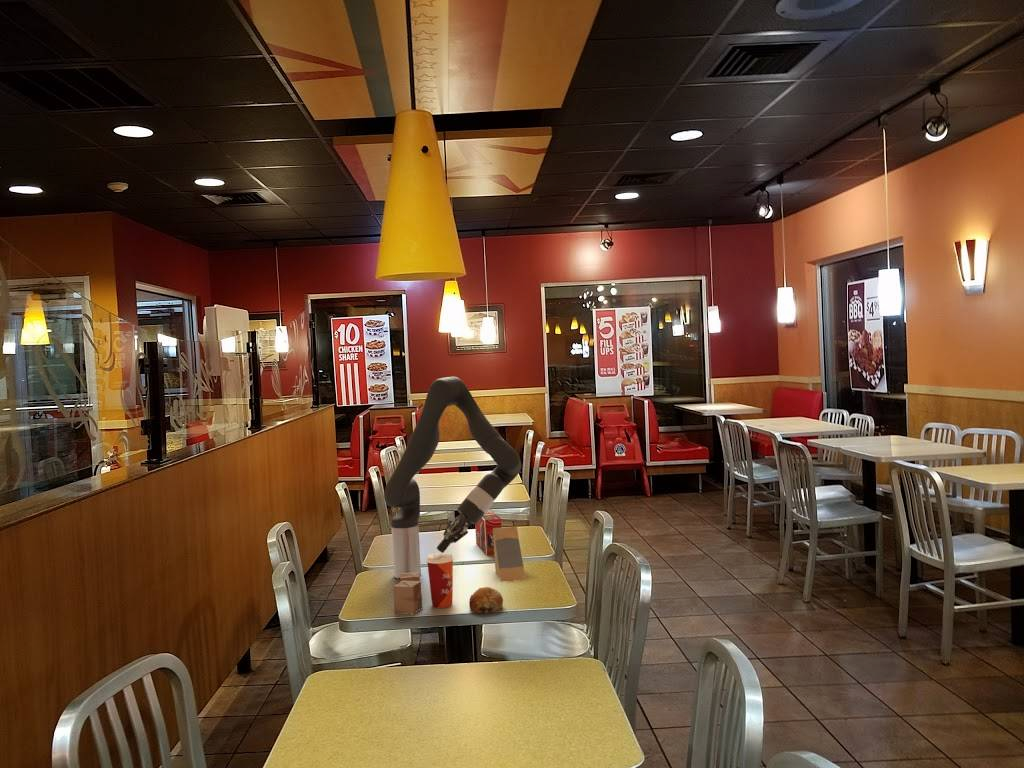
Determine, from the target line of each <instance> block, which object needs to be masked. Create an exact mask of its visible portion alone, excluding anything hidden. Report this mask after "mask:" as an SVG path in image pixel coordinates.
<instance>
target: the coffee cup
mask: <svg viewBox="0 0 1024 768" xmlns="http://www.w3.org/2000/svg"><path fill="white" fill-rule="evenodd" d="M454 560H455V559H454V557H453V554H452V553H450V552H443V553H442V552H435V553H430V554H428V555H427V558H426V563H427V570H428V580H429V589H430V597H431V605H432V608H435V609H445V608H446V607H447V608H450V607H452V606H453V599H454V597H453V592H454V590H453V586H454V585H453V584H454V581H453V580H454V579H453V577H454V575H453V574H454V572H453V571H454V569H453V568H454V567H453V565H454V564H453V563H454ZM451 605H452V606H451Z"/></svg>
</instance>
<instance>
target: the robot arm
mask: <svg viewBox="0 0 1024 768" xmlns="http://www.w3.org/2000/svg"><path fill="white" fill-rule="evenodd" d="M451 406H456V407H457V409H459V410H460V411H461V412H462V413H463V415H464V416H465V419H466V421H467V425H468V428H469V432H470V434H471V436H472V438H473V439H474V441H475V442H476V443H477V444H478V445H479V447H480V448H481V449H482V450H483V451H484V452H485V453H486V454H487V455H489V456H490V457H491V458H492V460H493V461H494V462H495V463H496V464H495V465H496V467H495V468H494V469H493V470H492V471H491V472H490V473H486V474H485V475H484V476H483V477H482V478H481V480H480V481H479V482H478V483H477V485H476V486H475V487H474V488H473V489H472V490H471V491H469V493H468V494H467V496H465V498H464V499H463V501H462V502H461V503H460V504H459V506H458V507H457V512H458V513H459V515H457V516H456V517H455V518H454V519H453V520H449V521H448V523H447V525H446V528H445V530H444V532H443V534H442V535H443V539H442V540H441V541H440V542H439V544H438V545H437V546H436V550H437V551H439V553H445V551H446V550H447V549H448V547H449V546H450V545H451V544H453V543H454V544H455V543H457V542H458V541H460V540H461V539H462V538H464V537H465V536H466V535H467V534H468V533H469V531H468V529H469V527H470V526H471V524H473V525H475V524H477V523H478V522H479V521H480V519H481V518H482V517H483V515H484V514H485V513H486V512H487V510H490V508H491V507H492V505H493V503H494V502H495V501H496V499H497V498H498V497H499V495H500V494H501V492H502V491H503V490H504V489H505V488H506V487H508V485H509V484H510V483H512V482H513V480H514V479H516V477H518V475H519V474H520V472H521V469H522V462H521V461H522V460H521V457H520V455H519V454H518V452H517V451H516V450H515V449H514V447H512V446H511V444H509V443H508V442H507V441H506V440H505V439H504V438H503V436H502V435H501V434H500V433H499V432H498V430H496V428H495V427H494V426H493V425H492V423H490V421H489V420H488V419H487V417H486V416H485V415H484V413H483V411H482V410H481V408H480V407H479V405H478V404H477V402H476V400H475V398H474V397H473V395H472V394H471V392H470V390H469V389H468V387H467V385H466V384H465V382H464V381H463V380H462V379H461V378H459V377H457V376H447V377H441V378H437V379H435V380H434V381H432V383H431V385H430V386H429V388H428V391H427V394H426V398H425V401H424V403H423V407H422V410H421V412H420V415H419V417H418V420H417V422H416V424H415V427H414V429H413V431H412V433H411V436H410V437H409V439H408V441H407V445H406V447H405V449H404V452H402V453H403V454H402V455H401V458H400V460H399V462H398V464H397V465H396V468H395V470H394V471H393V473H392V475H391V477H389V480H388V481H387V483H386V486H385V487H384V488H385V489H384V492H383V493H384V494H383V498H384V502H385V503H386V505H387V506H388V507H390V508H394V509H395V508H399V511H398V512H397V513H396V514H395V515H394V516H393V517H392V518H391V519H390V525H391V543H392V544H391V545H392V562H393V563H392V564H393V577H394V578H395V579H399V578H400V573H409V572H419V574H420V576H421V575H422V571H421V569H422V567H421V549H420V534H419V533H420V527H419V519H420V515H421V494H420V493H421V492H420V488H419V487H420V486H419V484H418V482H417V481H416V479H413V478H414V477H415V476H416V474H418V473H419V472H420V470H422V469H423V468H424V467H425V466H426V465H427V464H428V463H429V461H430V460H431V459H432V458H433V456H434V454H435V451H436V450H437V447H438V445H439V442H440V428H439V424H440V420H441V417H442V416H443V413H444V412H445V410H446V408H447V407H451Z"/></svg>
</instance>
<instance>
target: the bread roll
mask: <svg viewBox="0 0 1024 768" xmlns="http://www.w3.org/2000/svg"><path fill="white" fill-rule="evenodd" d="M503 603H504V599H503V595H502V594H501V592H499V591H498V589H495V588H492V587H489V586H483V587H479V588H478V589H476V590H475V591H474V592H473V594H470V597H469V603H468V604H469V609H470V611H471V612H472V613H475V614H476V613H477V614H491V613H495V612H497V611H500V610H501V609H502V608H503Z"/></svg>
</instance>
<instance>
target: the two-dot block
mask: <svg viewBox="0 0 1024 768" xmlns="http://www.w3.org/2000/svg"><path fill="white" fill-rule="evenodd" d="M420 577H421V575H420V574H419V572H409V573H400V579H399V583H400V582H401V581H421V578H420Z"/></svg>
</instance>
